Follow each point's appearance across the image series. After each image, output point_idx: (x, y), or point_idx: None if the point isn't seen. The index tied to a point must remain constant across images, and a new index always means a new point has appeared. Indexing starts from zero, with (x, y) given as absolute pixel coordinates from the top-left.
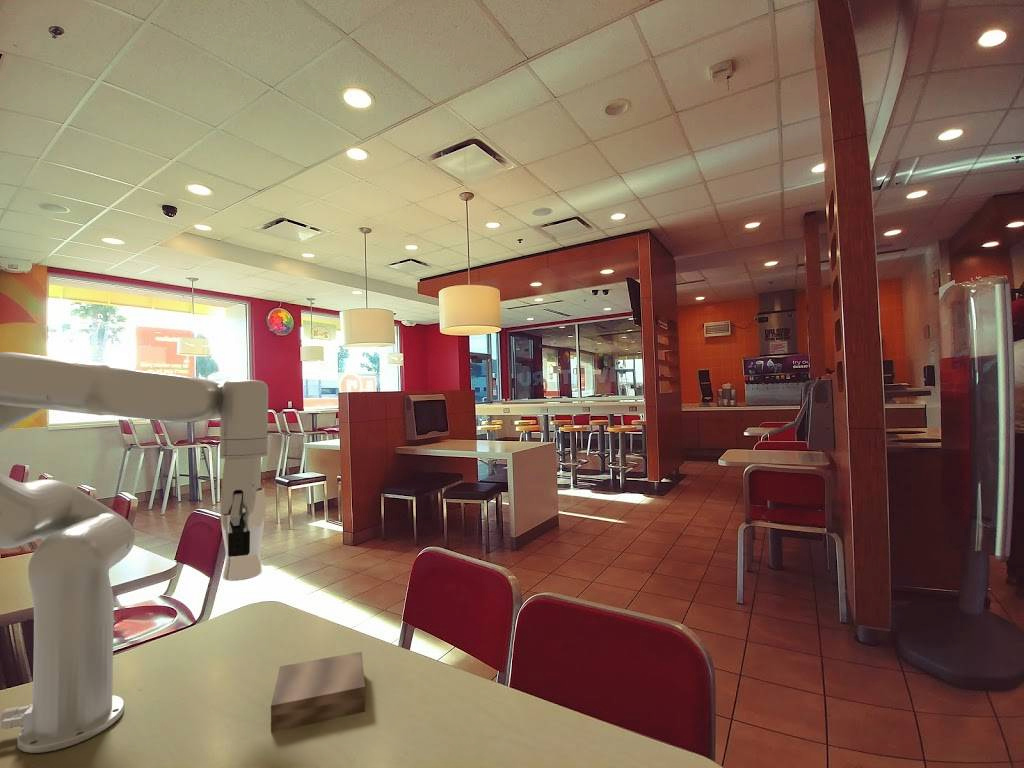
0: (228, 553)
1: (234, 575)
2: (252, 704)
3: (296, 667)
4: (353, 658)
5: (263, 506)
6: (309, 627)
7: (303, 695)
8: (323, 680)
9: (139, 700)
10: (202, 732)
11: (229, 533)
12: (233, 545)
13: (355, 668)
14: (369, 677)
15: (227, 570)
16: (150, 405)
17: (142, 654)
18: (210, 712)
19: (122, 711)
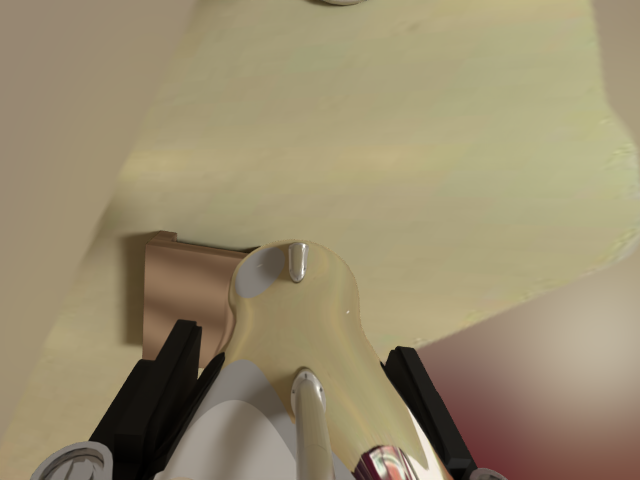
0: (174, 327)
1: (230, 285)
2: (250, 210)
3: None
4: None
5: None
6: (460, 304)
7: (155, 288)
8: (188, 316)
9: (371, 30)
10: (206, 141)
11: (67, 447)
12: (125, 386)
13: (203, 358)
14: None
15: (252, 270)
16: None
17: (576, 13)
18: (260, 151)
19: (333, 2)
